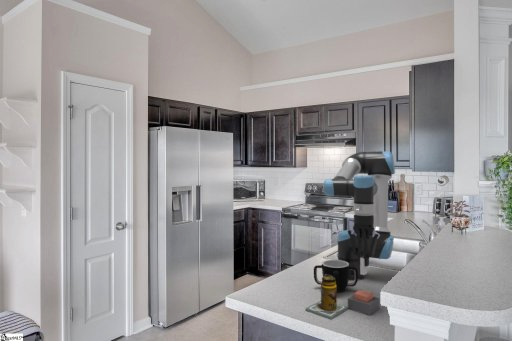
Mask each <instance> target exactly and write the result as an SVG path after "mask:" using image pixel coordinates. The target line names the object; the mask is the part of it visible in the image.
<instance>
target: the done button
mask: <svg viewBox="0 0 512 341" xmlns="http://www.w3.org/2000/svg"><path fill="white" fill-rule="evenodd" d="M353 294H354V299H356V300H360V301H363V302H367V303H368V302H370V301H371V300H373V296H374V293H373V292H371V291H370V292H369V291H367V290H363V289H360V290H358V291H356V292H354V293H353Z"/></svg>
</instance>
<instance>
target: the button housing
mask: <svg viewBox="0 0 512 341" xmlns="http://www.w3.org/2000/svg"><path fill="white" fill-rule="evenodd" d="M380 300H381V299H380V297H378V296H377V297H376V296H374V295H373V300H371V301H370V302H368V303H367V302H363V301H360V300H356V299H354V295H351V296H349V297H348V298H347V307H348V310H352V311H354V312H356V313H360V314H364V315H367V316H371V315H372V314H373V313H375V312H376V311H378V310H379V309H380V308H381V306H380V305H381V303H380Z"/></svg>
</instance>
